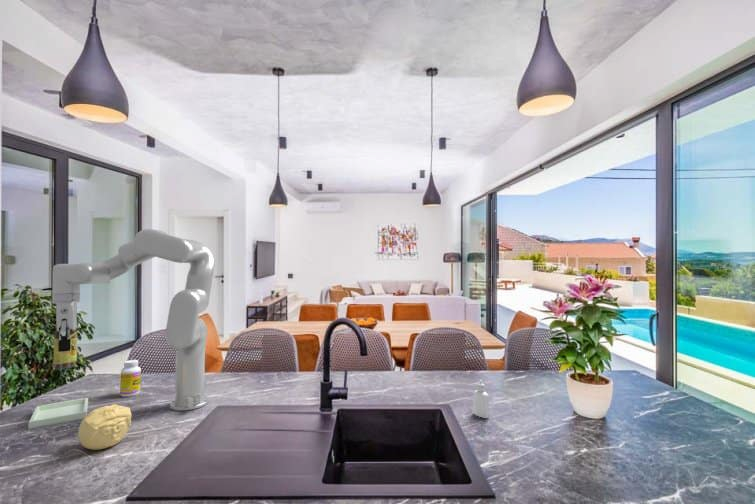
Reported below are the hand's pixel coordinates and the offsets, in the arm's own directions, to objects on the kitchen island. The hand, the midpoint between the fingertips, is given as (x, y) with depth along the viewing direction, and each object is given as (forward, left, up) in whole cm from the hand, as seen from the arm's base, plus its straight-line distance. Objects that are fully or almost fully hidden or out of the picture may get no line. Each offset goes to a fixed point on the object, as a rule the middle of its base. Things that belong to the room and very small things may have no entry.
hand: (65, 348), depth 133 cm
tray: (-7, 0, -21) cm, 22 cm away
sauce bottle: (0, 0, -7) cm, 7 cm away
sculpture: (-40, -12, -21) cm, 47 cm away
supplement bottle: (+4, -20, -21) cm, 29 cm away
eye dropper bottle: (-89, -116, -21) cm, 148 cm away
